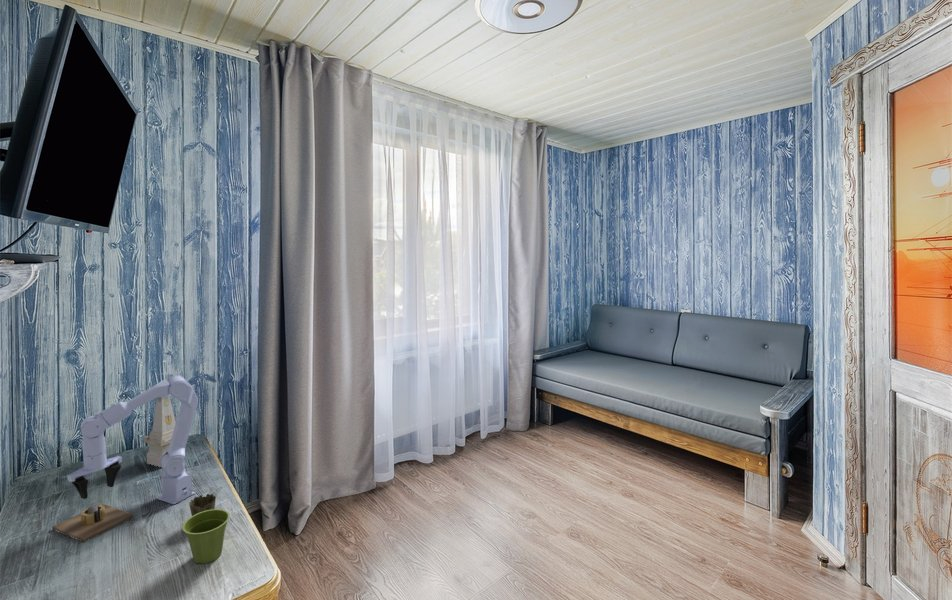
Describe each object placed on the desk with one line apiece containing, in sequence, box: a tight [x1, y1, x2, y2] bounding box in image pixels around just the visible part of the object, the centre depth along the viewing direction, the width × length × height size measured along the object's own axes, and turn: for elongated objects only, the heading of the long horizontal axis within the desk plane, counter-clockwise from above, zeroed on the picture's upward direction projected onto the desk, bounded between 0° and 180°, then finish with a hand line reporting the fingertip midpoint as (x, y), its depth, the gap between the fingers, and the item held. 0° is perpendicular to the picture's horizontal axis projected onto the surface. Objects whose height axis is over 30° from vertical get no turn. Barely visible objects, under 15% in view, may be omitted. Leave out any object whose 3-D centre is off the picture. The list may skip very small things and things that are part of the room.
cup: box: [189, 493, 217, 517], centre depth 145 cm, size 8×7×8 cm
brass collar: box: [80, 504, 105, 526], centre depth 143 cm, size 6×6×4 cm
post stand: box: [51, 503, 134, 542], centre depth 143 cm, size 16×14×6 cm
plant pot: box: [181, 508, 230, 564], centre depth 129 cm, size 12×12×11 cm
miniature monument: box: [143, 396, 177, 469], centre depth 185 cm, size 10×10×30 cm
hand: (97, 492), depth 145 cm, fingers open, 7 cm apart
